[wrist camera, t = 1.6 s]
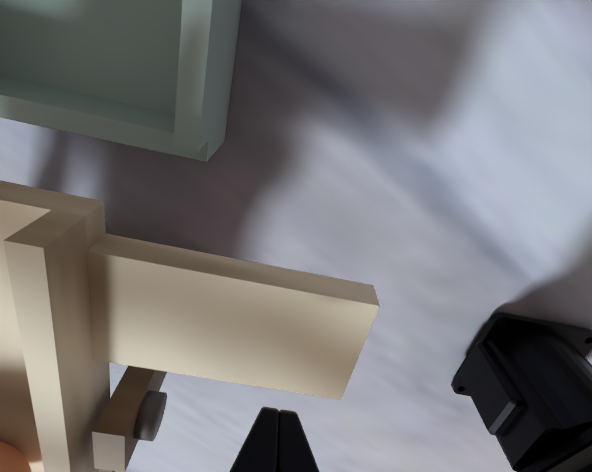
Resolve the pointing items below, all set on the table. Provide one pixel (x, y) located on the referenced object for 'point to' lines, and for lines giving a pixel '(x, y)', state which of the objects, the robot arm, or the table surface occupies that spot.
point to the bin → (122, 70)
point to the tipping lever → (147, 322)
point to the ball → (12, 459)
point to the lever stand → (129, 418)
